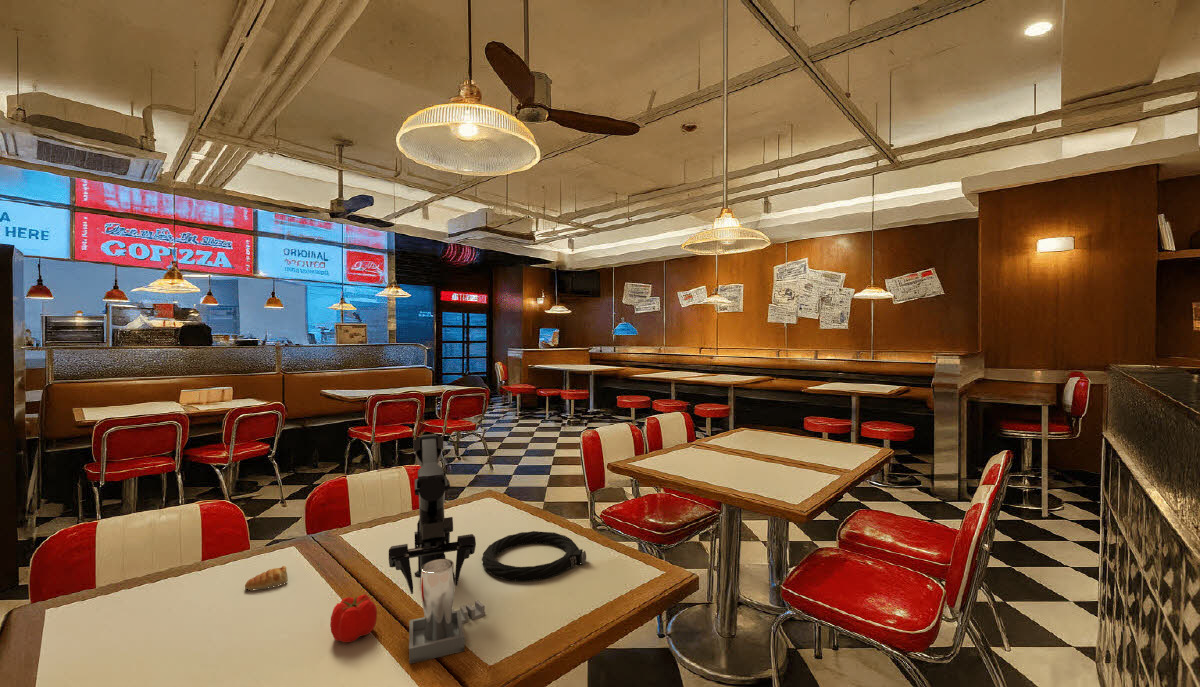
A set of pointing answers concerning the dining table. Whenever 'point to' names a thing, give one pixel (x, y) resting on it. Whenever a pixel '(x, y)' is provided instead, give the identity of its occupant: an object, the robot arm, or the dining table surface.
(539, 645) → the dining table surface
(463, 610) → the clip
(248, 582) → the pastry
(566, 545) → the cable lock
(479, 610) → the clip
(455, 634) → the holder
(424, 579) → the beer glass
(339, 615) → the tomato
